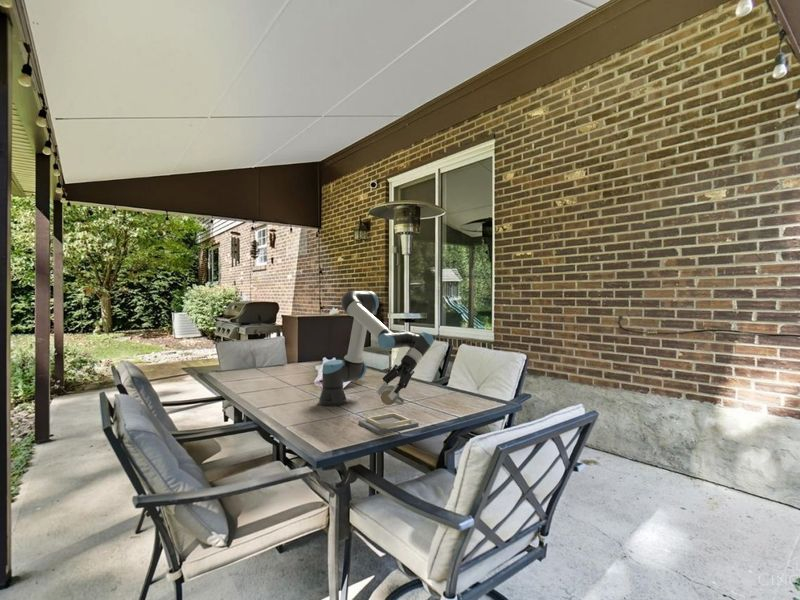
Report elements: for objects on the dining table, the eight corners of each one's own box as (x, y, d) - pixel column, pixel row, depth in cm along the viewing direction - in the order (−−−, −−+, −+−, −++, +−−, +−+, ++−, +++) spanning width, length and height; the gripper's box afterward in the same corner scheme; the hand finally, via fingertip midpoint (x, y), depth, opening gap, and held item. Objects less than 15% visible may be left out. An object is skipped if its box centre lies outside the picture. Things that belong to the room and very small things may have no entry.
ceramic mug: (379, 405, 196) (380, 388, 196) (383, 400, 204) (384, 384, 204) (402, 407, 194) (402, 390, 194) (405, 402, 202) (405, 386, 202)
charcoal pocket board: (358, 424, 201) (358, 417, 201) (396, 416, 213) (396, 410, 213) (378, 434, 186) (378, 427, 186) (418, 426, 198) (418, 419, 198)
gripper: (430, 367, 198) (402, 406, 190) (402, 361, 217) (376, 396, 208) (421, 357, 195) (392, 395, 187) (394, 351, 214) (366, 386, 205)
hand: (383, 395), depth 197 cm, fingers closed on ceramic mug, 10 cm apart
